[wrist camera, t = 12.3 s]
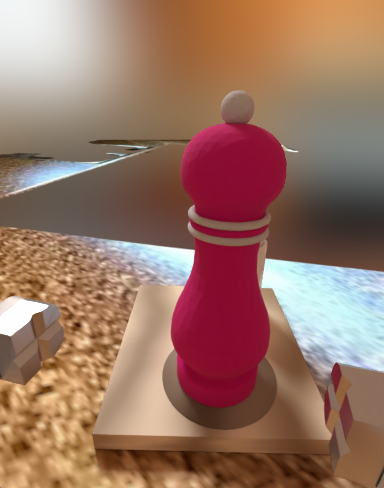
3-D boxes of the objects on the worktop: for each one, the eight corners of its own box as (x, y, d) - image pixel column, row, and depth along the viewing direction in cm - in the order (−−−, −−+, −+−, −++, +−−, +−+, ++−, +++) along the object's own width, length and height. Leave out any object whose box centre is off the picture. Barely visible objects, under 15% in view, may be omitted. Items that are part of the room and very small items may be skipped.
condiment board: (94, 448, 19) (92, 433, 18) (140, 295, 36) (140, 284, 35) (336, 454, 19) (341, 439, 19) (270, 298, 36) (272, 287, 35)
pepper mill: (231, 332, 27) (255, 97, 19) (282, 394, 21) (347, 90, 13) (158, 354, 25) (151, 90, 17) (193, 432, 19) (208, 77, 11)
